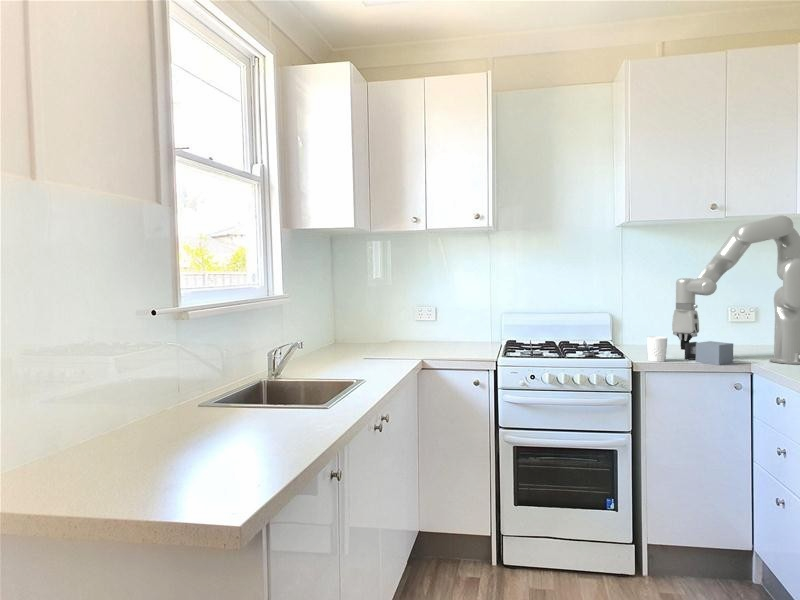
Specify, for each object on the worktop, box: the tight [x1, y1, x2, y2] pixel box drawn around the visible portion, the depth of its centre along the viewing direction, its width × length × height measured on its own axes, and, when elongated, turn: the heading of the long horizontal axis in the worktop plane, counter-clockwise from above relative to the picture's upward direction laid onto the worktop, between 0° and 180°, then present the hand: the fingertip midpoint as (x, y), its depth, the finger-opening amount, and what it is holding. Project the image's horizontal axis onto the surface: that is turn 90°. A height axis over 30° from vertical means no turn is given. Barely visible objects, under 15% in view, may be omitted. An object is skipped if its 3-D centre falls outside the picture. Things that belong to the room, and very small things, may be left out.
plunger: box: [684, 341, 698, 360], centre depth 249 cm, size 10×11×7 cm
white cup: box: [646, 335, 668, 363], centre depth 248 cm, size 8×8×10 cm
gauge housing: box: [695, 340, 734, 366], centre depth 248 cm, size 21×14×8 cm, turn 31°
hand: (684, 349), depth 254 cm, fingers closed
